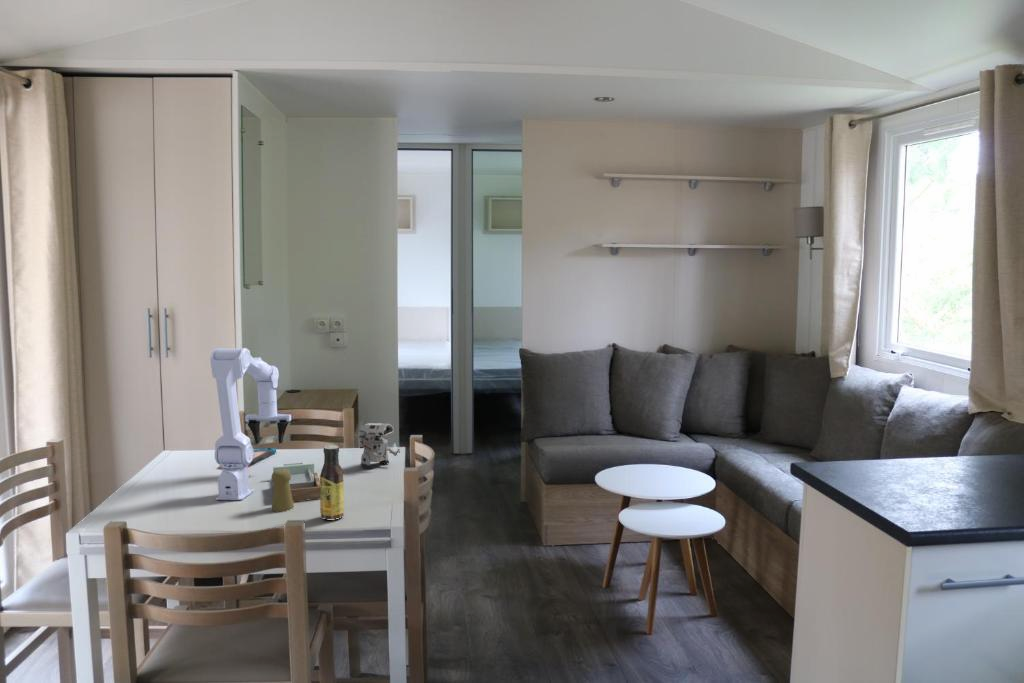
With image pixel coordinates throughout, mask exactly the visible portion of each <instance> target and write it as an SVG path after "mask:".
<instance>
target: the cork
mask: <svg viewBox="0 0 1024 683" xmlns="http://www.w3.org/2000/svg"><path fill="white" fill-rule="evenodd" d="M290 479H291V473H290V472H289V471H288V470H283V469H282V470H276V471H274V472H272V474H271V481H272V482H273V488H272V489H273V492H272V499H271V500H272V502H271V511H272V512H276V513H280V512H281V513H283V511H284V512H288V511H287V510H289V511H291V510H290V509H292V508H293V507H294V502H293V500H292V495H291V489H290V484H289V481H290ZM294 508H295V507H294ZM294 508H293V509H294ZM293 509H292V510H293Z"/></svg>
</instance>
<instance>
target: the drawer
mask: <svg viewBox="0 0 1024 683" xmlns="http://www.w3.org/2000/svg"><path fill="white" fill-rule="evenodd" d="M272 469H273V470H272V471H273V472H274V471H276V470H282V469H283V470H288V471H289V472H290V473H291V479H290V481H289V484H290V489H299V488H309V487H314V476H313V475H314V473H315V463H314V462H313V463H312V462H311V463H310V462H309V463H304V462H295V463H288V464H287V463H285V464H283V465H279V466H273V467H272ZM273 472H272V473H273Z"/></svg>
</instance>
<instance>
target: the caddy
mask: <svg viewBox="0 0 1024 683" xmlns="http://www.w3.org/2000/svg"><path fill="white" fill-rule="evenodd" d="M313 480H314V487H309V488H299V489H291V495H292V500H293V501H297V502H300V501H299V500H306V501H308V500H307V499H316V498H320V477H319V475H318V472H314V474H313ZM316 500H317V499H316Z"/></svg>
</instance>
